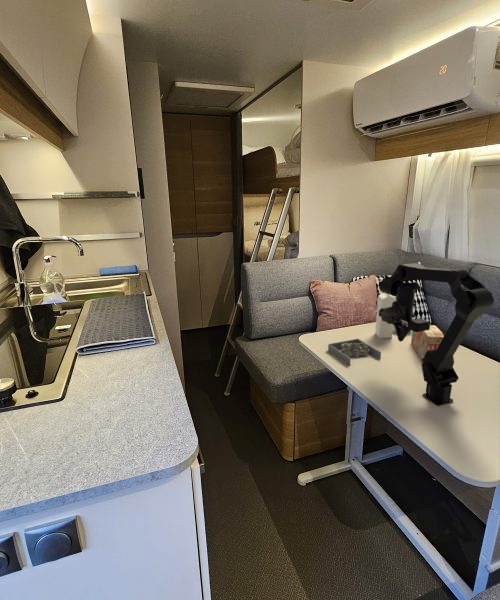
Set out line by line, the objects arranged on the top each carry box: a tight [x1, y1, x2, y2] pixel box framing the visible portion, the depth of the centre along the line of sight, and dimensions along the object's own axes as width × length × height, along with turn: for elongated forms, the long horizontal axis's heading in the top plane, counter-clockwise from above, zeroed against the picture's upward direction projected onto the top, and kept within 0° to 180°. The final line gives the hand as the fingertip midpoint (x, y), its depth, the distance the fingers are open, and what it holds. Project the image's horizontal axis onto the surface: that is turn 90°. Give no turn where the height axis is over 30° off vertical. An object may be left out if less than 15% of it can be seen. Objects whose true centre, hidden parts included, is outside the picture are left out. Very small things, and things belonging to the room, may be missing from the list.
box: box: [327, 338, 382, 366], centre depth 143 cm, size 15×15×3 cm
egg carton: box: [341, 341, 370, 358], centre depth 145 cm, size 11×8×4 cm
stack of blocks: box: [410, 324, 445, 363], centre depth 141 cm, size 21×6×12 cm, turn 169°
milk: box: [374, 292, 396, 339], centre depth 159 cm, size 6×6×22 cm
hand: (400, 341), depth 124 cm, fingers closed
